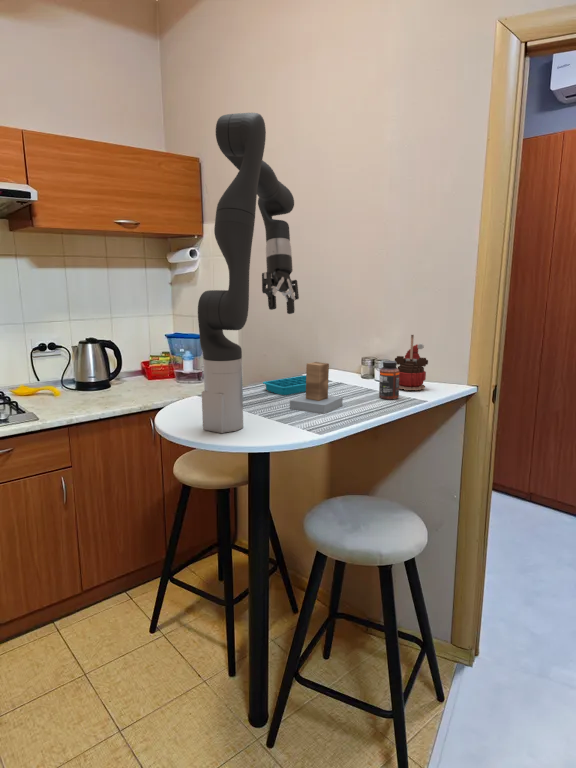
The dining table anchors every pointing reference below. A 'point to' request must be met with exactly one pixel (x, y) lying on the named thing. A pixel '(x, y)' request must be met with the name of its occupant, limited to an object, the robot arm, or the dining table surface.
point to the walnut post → (317, 381)
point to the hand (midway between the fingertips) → (282, 311)
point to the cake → (412, 368)
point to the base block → (316, 404)
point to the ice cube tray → (287, 385)
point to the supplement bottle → (389, 381)
